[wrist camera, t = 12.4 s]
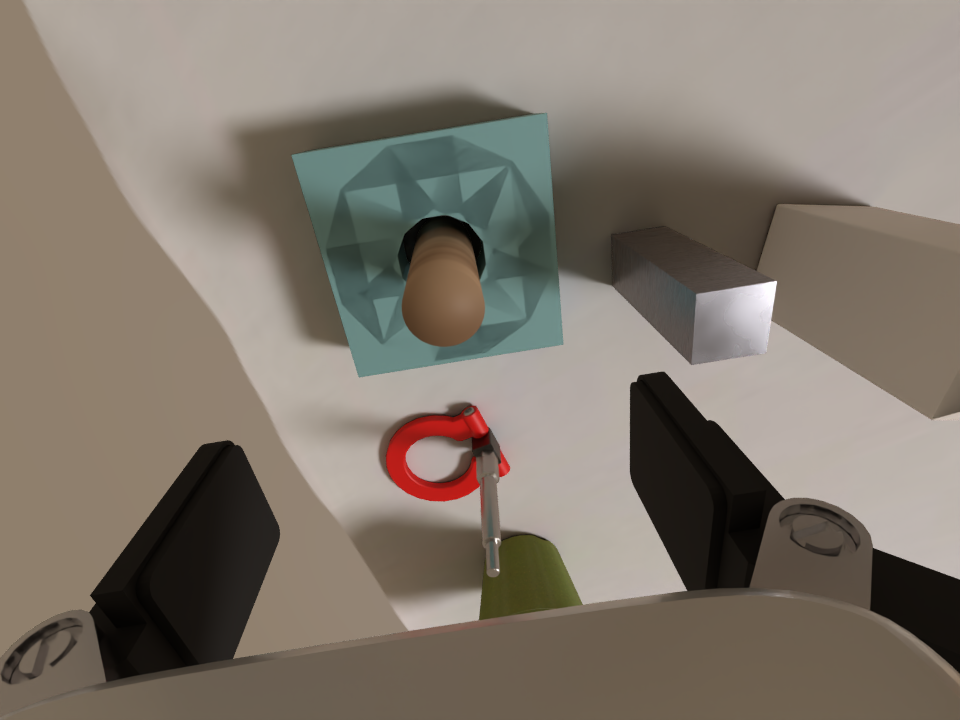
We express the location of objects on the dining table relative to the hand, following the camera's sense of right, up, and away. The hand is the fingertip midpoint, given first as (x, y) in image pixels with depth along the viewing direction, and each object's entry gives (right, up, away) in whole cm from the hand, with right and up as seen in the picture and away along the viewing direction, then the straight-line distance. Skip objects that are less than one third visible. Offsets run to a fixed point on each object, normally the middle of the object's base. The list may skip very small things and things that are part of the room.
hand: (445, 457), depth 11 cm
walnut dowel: (-2, +10, +20) cm, 22 cm away
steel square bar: (+12, +9, +21) cm, 26 cm away
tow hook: (-2, -5, +28) cm, 29 cm away
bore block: (-2, +10, +20) cm, 22 cm away
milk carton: (+24, +10, +22) cm, 34 cm away
